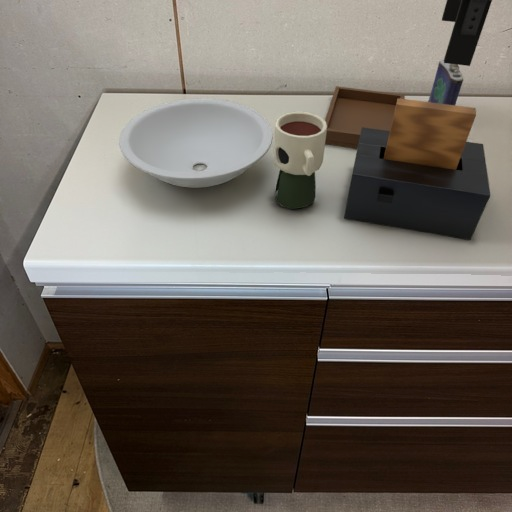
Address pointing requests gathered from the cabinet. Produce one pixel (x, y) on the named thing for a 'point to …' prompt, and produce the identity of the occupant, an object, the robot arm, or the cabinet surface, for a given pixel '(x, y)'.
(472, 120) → the toast
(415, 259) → the cabinet surface
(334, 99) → the tray
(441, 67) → the flask
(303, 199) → the character mug
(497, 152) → the cabinet surface
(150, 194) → the cabinet surface
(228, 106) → the white bowl
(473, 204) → the toaster
